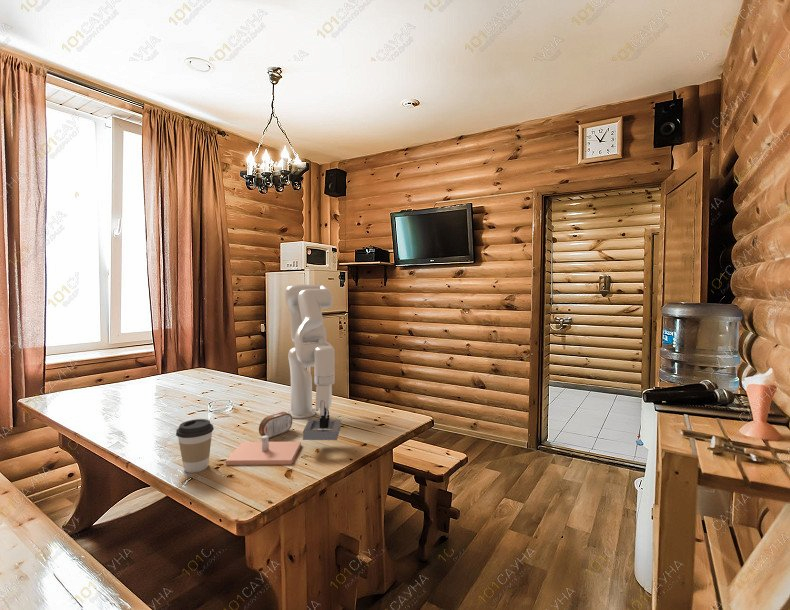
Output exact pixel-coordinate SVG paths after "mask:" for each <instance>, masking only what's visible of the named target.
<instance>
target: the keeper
mask: <svg viewBox="0 0 790 610" xmlns="http://www.w3.org/2000/svg"><path fill="white" fill-rule="evenodd" d="M269 440H270V438H269V436H261V441H241V442H240V444H238V446H237V447H236V448H235V449H234V451H233V452H232V453H231V454H230V455H229V456H228V457H227V459H226V460H225V466H233V465H234V466H238V465H240V466H242V465H243V466H249V465H250V466H253V465H254V466H255V465H257V466H258V465H259V466H262V465H269V466H270V465H272V466H273V465H277V466H278V465H292V464H293V462H294V461H295V458H296V456H297V454H298V453H299V450H300V449H301V446H302V441H269Z"/></svg>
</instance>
